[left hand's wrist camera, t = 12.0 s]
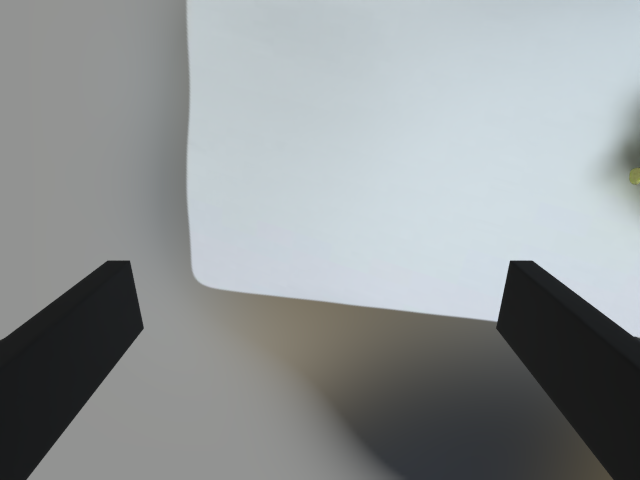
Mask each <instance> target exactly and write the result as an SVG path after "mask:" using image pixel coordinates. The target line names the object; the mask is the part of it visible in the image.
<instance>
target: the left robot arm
mask: <svg viewBox="0 0 640 480" xmlns="http://www.w3.org/2000/svg"><path fill="white" fill-rule="evenodd" d="M143 329H144V327H143V322H142V317H141V313H140V308H139V303H138V298H137V293H136V288H135V283H134V278H133V273H132V269H131V264H130V261H107V262H105V263H104V264H103V265H101V266H100V267H99V268H97V269H96V270H95V271H93V272H92V273H91V274H89V275H88V276H87V277H85V278H84V279H83V280H81V281H80V282H79V283H77V284H76V285H75V286H73V287H72V288H71V289H69V290H68V291H67V292H65V293H64V294H63V295H61V296H60V297H59V298H58V299H56V300H55V301H53V302H52V303H51V304H49V305H48V306H47V307H46V308H44V309H43V310H41V311H40V312H39V313H38V314H36V315H35V316H33V317H32V318H31V319H29V320H28V321H27V322H25V323H24V324H23V325H22V326H20V327H19V328H17V329H16V330H15V331H14V332H12V333H11V334H10V335H8V336H7V337H6V338H4V339H2V340H0V480H26V479H27V478H28V477H29V476H30V474H31V473H32V472H33V470H34V469H35V468H36V467H37V465H38V464H39V463H40V461H41V460H42V459H43V458H44V456H45V455H46V454H47V452H48V451H49V450H50V448H51V447H52V446H53V445H54V443H55V442H56V441H57V439H58V438H59V437H60V436H61V434H62V433H63V432H64V431H65V429H66V428H67V427H68V425H69V424H70V423H71V421H72V420H73V419H74V418H75V416H76V415H77V414H78V412H79V411H80V410H81V409H82V407H83V406H84V405H85V403H86V402H87V401H88V400H89V398H90V397H91V396H92V394H93V393H94V392H95V391H96V389H97V388H98V387H99V385H100V384H101V383H102V381H103V380H104V379H105V378H106V376H107V375H108V374H109V372H110V371H111V370H112V369H113V367H114V366H115V365H116V363H117V362H118V361H119V360H120V358H121V357H122V356H123V354H124V353H125V352H126V351H127V349H128V348H129V347H130V345H131V344H132V343H133V341H134V340H135V339H136V338H137V336H138V335H139V334H140V332H141V331H142V330H143ZM496 329H497V330H498V331H499V332H500V334H501V335H502V336H503V338H504V339H505V340H506V341H507V343H508V344H509V345H510V347H511V348H512V349H513V351H514V352H515V353H516V354H517V356H518V357H519V358H520V360H521V361H522V362H523V363H524V365H525V366H526V367H527V369H528V370H529V371H530V372H531V374H532V375H533V376H534V378H535V379H536V380H537V382H538V383H539V384H540V385H541V387H542V388H543V389H544V391H545V392H546V393H547V394H548V396H549V397H550V398H551V400H552V401H553V402H554V403H555V405H556V406H557V407H558V409H559V410H560V411H561V412H562V414H563V415H564V416H565V418H566V419H567V420H568V421H569V423H570V424H571V425H572V427H573V428H574V429H575V431H576V432H577V433H578V434H579V436H580V437H581V438H582V439H583V441H584V442H585V443H586V445H587V446H588V447H589V448H590V450H591V451H592V452H593V454H594V455H595V456H596V458H597V459H598V460H599V461H600V463H601V464H602V465H603V467H604V468H605V469H606V470H607V472H608V473H609V474H610V476H611V477H612V478H613V479H614V480H640V339H639V338H637V337H633V336H632V335H630V334H629V333H628V332H626V331H625V330H624V329H622V328H621V327H620V326H619V325H617V324H616V323H615V322H613V321H612V320H611V319H609V318H608V317H607V316H605V315H604V314H603V313H601V312H600V311H599V310H597V309H596V308H595V307H593V306H592V305H591V304H589V303H588V302H587V301H585V300H584V299H583V298H581V297H580V296H579V295H577V294H576V293H575V292H573V291H572V290H571V289H569V288H568V287H567V286H565V285H564V284H563V283H561V282H560V281H559V280H557V279H556V278H555V277H553V276H552V275H551V274H549V273H548V272H547V271H545V270H544V269H543V268H541V267H540V266H539V265H537V264H536V263H535V262H533V261H510V264H509V269H508V273H507V278H506V283H505V288H504V293H503V298H502V303H501V308H500V312H499V317H498V322H497V327H496Z"/></svg>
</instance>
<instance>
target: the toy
mask: <svg viewBox="0 0 640 480" xmlns="http://www.w3.org/2000/svg"><path fill="white" fill-rule="evenodd" d="M629 179H630V182H631V183H632V184H635V185H636V184H638V183H639V182H640V168H635V169H632V170H631V172H630V178H629Z"/></svg>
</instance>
